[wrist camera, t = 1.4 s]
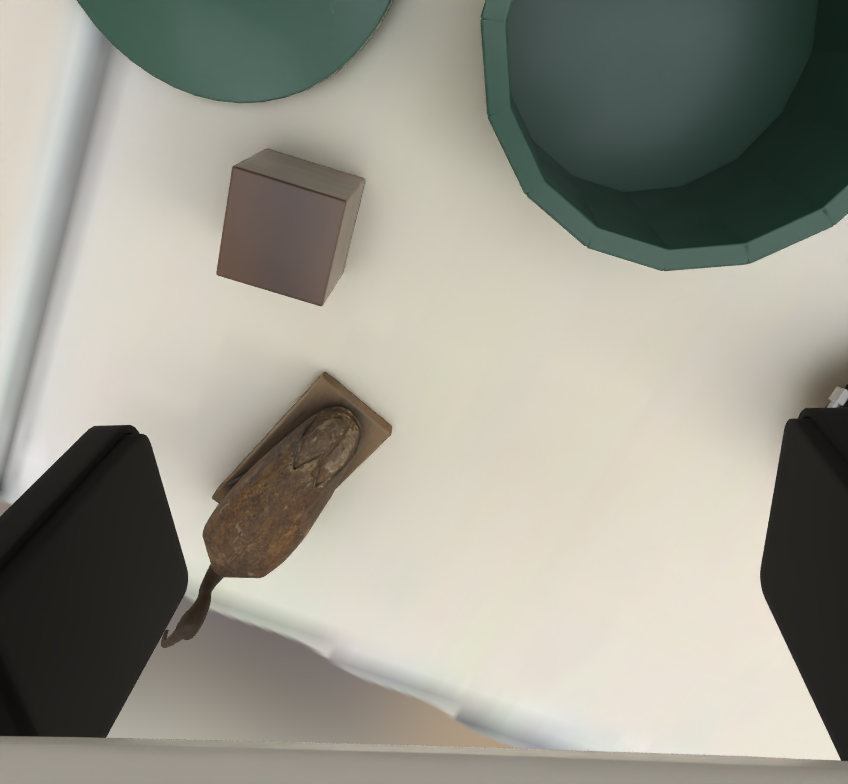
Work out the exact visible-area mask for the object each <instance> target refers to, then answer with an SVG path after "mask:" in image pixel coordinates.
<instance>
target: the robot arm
mask: <svg viewBox="0 0 848 784" xmlns="http://www.w3.org/2000/svg"><path fill="white" fill-rule="evenodd" d="M760 580H761V587H762V591H763V594H764V597H765V599H766V601H767V604H768V606H769V608H770V610H771V612H772V614H773V616H774V618H775V621H776V623H777V625H778V627H779V629H780V631H781V633H782V635H783V638H784V640H785V642H786V644H787V646H788V648H789V650H790V652H791V655H792V657H793V659H794V661H795V663H796V665H797V667H798V669H799V672H800V674H801V676H802V678H803V680H804V682H805V684H806V686H807V689H808V691H809V693H810V695H811V697H812V699H813V701H814V703H815V706H816V708H817V710H818V712H819V714H820V716H821V718H822V720H823V723H824V725H825V727H826V729H827V731H828V733H829V735H830V737H831V740H832V742H833V744H834V746H835V748H836V750H837V752H838V754H839V757H840V759H841V761H836V760H811V759H789V758H769V757H749V756H720V755H690V754H661V753H631V752H602V751H573V750H543V749H513V748H512V749H511V748H478V747H444V746H409V745H375V744H339V743H336V744H335V743H302V742H266V741H222V740H221V741H220V740H178V739H175V740H174V739H173V740H172V739H133V738H129V739H128V738H106V737H107V735H108V733H109V731H110V729H111V727H112V726H113V724H114V722H115V720H116V718H117V716H118V715H119V713H120V711H121V709H122V707H123V706H124V703H125V702H126V700H127V698H128V696H129V694H130V693H131V691H132V689H133V687H134V685H135V684H136V682H137V680H138V678H139V676H140V675H141V673H142V671H143V669H144V667H145V666H146V664H147V662H148V660H149V658H150V656H151V655H152V653H153V651H154V649H155V647H156V645H157V643H158V642H159V640H160V638H161V636H162V635H163V632H164V631H165V629H166V627H167V625H168V624H169V622H170V620H171V618H172V616H173V615H174V612H175V611H176V609H177V607H178V605H179V604H180V602H181V600H182V598H183V596H184V594H185V592H186V589H187V584H188V571H187V567H186V563H185V560H184V556H183V553H182V549H181V546H180V543H179V539H178V536H177V532H176V529H175V525H174V522H173V518H172V515H171V512H170V508H169V505H168V501H167V498H166V494H165V491H164V487H163V484H162V481H161V477H160V474H159V470H158V467H157V463H156V460H155V456H154V453H153V449H152V446H151V443H150V441H149V439H148V437H147V436H146V435H144V434H139V432H138V430H137V429H136V428H135V427H133V426H132V425H113V426H93V427H92V428H90V429H89V430H88V431H87V432H85V433H84V434H83V435H82V436H81V437H80V438H79V439H78V440H77V441H76V442H75V443H74V444H73V445H72V446H71V447H70V448H69V449H68V450H67V451H66V452H65V453H64V454H63V455H62V456H61V457H60V458H59V459H58V460H57V461H56V462H55V463H54V464H53V465H52V466H51V467H50V468H49V469H48V470H47V471H46V472H45V473H44V474H43V475H42V476H41V477H40V478H39V479H38V480H37V481H36V482H35V483H34V484H33V485H32V486H31V487H30V488H29V489H28V490H27V491H26V492H25V493H24V494H23V495H22V496H21V497H20V498H19V499H18V500H17V501H16V502H15V503H14V504H13V505H12V506H11V507H10V508H9V509H8V510H7V511H5V512H4V513H3V515H1V516H0V784H848V407H835V408H805V409H804V410H802V411H801V413H800V415H799V418H798V419H790V420H788V421H787V423H786V425H785V429H784V435H783V440H782V446H781V452H780V458H779V464H778V470H777V476H776V482H775V487H774V493H773V499H772V505H771V511H770V517H769V523H768V528H767V534H766V540H765V546H764V552H763V558H762V564H761V571H760Z"/></svg>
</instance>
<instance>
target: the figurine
mask: <svg viewBox="0 0 848 784" xmlns="http://www.w3.org/2000/svg"><path fill="white" fill-rule="evenodd" d="M391 431H392V427H391V426H390V425H389V424H388V423H387V422H386V421H385V420H383V419H382V418H381V417H380V416H378V415H377V414H376V413H375V412H374V411H372V410H371V409H370V408H369V407H368V406H366V405H365V404H364V403H363V402H361V401H360V400H359V399H358V398H357V397H356V396H354V395H353V394H352V393H351V392H350V391H348V390H347V389H346V388H344V387H343V386H342V385H341V384H340V383H338V382H337V381H336V380H335V379H333V378H332V377H331V376H330V375H328V374H327V373H326V372H324V373H323V374H322V375H321V376H320V377H319V379H318V380H317V381H316V382H315V383H314V384H313V385H312V386H311V387H310V388H309V389H308V391H307V392H306V393H305V394H304V395H303V396H302V397H301V398H300V399H299V401H298V402H297V403H296V404H295V405H294V406H293V407H292V408H291V409H290V410H289V411H288V413H287V414H286V415H285V416H284V417H283V418H282V419H281V420H280V421H279V422H278V423H277V425H276V426H275V427H274V428H273V429H272V430H271V431H270V432H269V433H268V434H267V435H266V436H265V438H264V439H263V440H262V441H261V442H260V443H259V444H258V445H257V446H256V447H255V449H254V450H253V451H252V452H251V453H250V454H249V455H248V456H247V457H246V458H245V459H244V460H243V462H242V463H241V464H240V465H239V466H238V467H237V468H236V469H235V471H234V472H233V473H232V474H231V475H230V476H229V477H228V478H227V479H226V480H225V481H224V482H223V483H222V484H221V486H220V487H219V488H218V489H217V490H216V491H215V493H214V495H213V496H212V499H213V500H215V501H216V502H218V503H219V505H218V506H217V507H216V509H215V510H214V512H213V513H212V515H211V516H210V518H209V520H208V521H207V523H206V525H205V527H204V530H203V539H204V542H205V546H206V549H207V553H208V556H209V559H210V562H211V565H210V566H209V568H208V570H207V572H206V575H205V577H204V579H203V581H202V583H201V586H200V589H199V595H198V598H197V599H196V601H195V603H194V604H193V606H192V607H191V608H190V609H189V610H188V611H187V612H186V613H185V614H184V615H183V616H182V618H181V620H180V622H179V623H178V624H177V627H176V629H175V631H174V632H173V633H172V634H171V635H170V636H169V637H168V638H167V634H168V630H165V632H164V634H163V637H162V640H161V646H162V647H163V648H166V647H169V646H172V645H174V644H175V643H177V642H179V641H180V640H182V639H184V640H189V639H191V638H193V636H195V634H196V633H197V632H198V630H199V629H200V627H201V625H202V624H203V622H204V620H205V618H206V615H207V612H208V609H209V606H210V602H211V592H212V590H213V589H214V587H215V586H216V585H217V584H218V583H219V582H220V581H221V580H222V579H223V577H238V578H262V577H264V576H266V575H267V574H269V573H270V572H271V571H273V570H274V569H275V568H277V567H278V566H279V565H280V564H282V563H283V562H284V561H285V560H286V559H287V558H288V557H289V556H290V555H291V553H292V552H293V551H294V550H295V549H296V548H297V546H298V545H299V544H300V543H301V542H302V540H303V539H304V538H305V536H306V535H307V534H308V532H309V530H310V529H311V527H312V526H313V524H314V522H315V521H316V519H317V518H318V516H319V515H320V513H321V512H322V510H323V508H324V507H325V505H326V504H327V502H328V501H329V499H330V497H331V496H332V494H333V492H334V490H335V489H336V488H337V487H338V486H339V485H340V484H341V483H342V482H343V481H344V480H345V479H346V478H347V477H348V476H349V475H350V474H351V473H352V472H353V471H354V470H355V469H356V468H357V467H358V466H359V465H360V464H361V463H363V462H364V461H365V460H366V459H367V458H368V457H369V456H370V455H371V454H372V453H373V452H374V451H375V450H376V449H377V448H378V447H379V446H380V445H381V444H382V443H383V442H384V441H385V440H386V439H387V438H388V437H389V436H390V435H391ZM166 638H167V639H166Z"/></svg>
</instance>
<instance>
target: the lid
mask: <svg viewBox="0 0 848 784" xmlns="http://www.w3.org/2000/svg"><path fill="white" fill-rule="evenodd" d="M77 1H78V3H79V4H80V5H81V7H82V8H83V9H84V11H85V12H86V14H87V15H88V16H89V18H90V19H91V20H92V22H93V23H94V24H95V25H96V27H97V28H98V29H99V30H100V31H101V32H102V33H103V34H104V35H105V36H106V38H107V39H108V40H109V41H110V42H111V43H112V44H113V45H114V46H115V47H116V48H117V49H119V50H120V51H121V52H122V53H123V54H124V55H125V56H127V57H128V58H129V59H130V60H131V61H132V62H134V63H135V64H136V65H138V66H139V67H141V68H142V69H144V70H145V71H146V72H148V73H149V74H151V75H152V76H154V77H156V78H158V79H160V80H161V81H163V82H165V83H167V84H169V85H171V86H173V87H175V88H177V89H180V90H182V91H185V92H188V93H190V94H193V95H195V96H199V97H204V98H208V99H212V100H216V101H224V102H234V103H253V102H265V101H270V100H275V99H281V98H285V97H288V96H291V95H293V94H296V93H299V92H302V91H305V90H307V89H309V88H311V87H313V86H315V85H317V84H319V83H321V82H322V81H324V80H326V79H328V78H329V77H331V76H332V75H333V74H335V73H336V72H337V71H339V70H340V69H341V68H343V67H344V66H345V65H346V64H347V63H348V62H349V61H351V60H352V59H353V58H354V57H355V56H356V55H357V54H358V53H359V52H360V51H361V50H362V49H363V47H364V46H365V45H366V43H367V42H368V41H369V40H370V38H371V37H372V36H373V34H374V33H375V32H376V31H377V29H378V28H379V26H380V24H381V22H382V21H383V19H384V17H385V16H386V14H387V12H388V10H389V9H390V7H391V5H392V2H393V0H77Z"/></svg>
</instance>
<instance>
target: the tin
mask: <svg viewBox="0 0 848 784" xmlns="http://www.w3.org/2000/svg"><path fill="white" fill-rule="evenodd" d="M481 18H482V19H481V35H482V49H483V63H484V77H485V91H486V105H487V114H488V119H489V121H490V123H491V125H492V127H493V129H494V131H495V133H496V135H497V138H498V140H499V142H500V144H501V146H502V148H503V150H504V152H505V154H506V156H507V158H508V160H509V162H510V164H511V167H512V169H513V171H514V173H515V175H516V177H517V179H518V181H519V183H520V185H521V187H522V189H523V191H524V193H525V194H526V195H527V197H528V198H530V199H531V200H532V201H533V202H534V203H535V204H537V205H538V206H539V207H540V208H541V209H542V210H544V211H545V212H546V213H547V214H548V215H549V216H551V217H552V218H553V219H554V220H555V221H556V222H557V223H559V224H560V225H561V226H562V227H563V228H564V229H566V230H567V231H568V232H569V233H570V234H571V235H573V236H574V237H575V238H576V239H577V240H578V241H580V242H581V243H582V244H583V245H584V246H587V248H589V249H593V250H596V251H599V252H602V253H606V254H609V255H612V256H615V257H619V258H622V259H625V260H628V261H632V262H635V263H638V264H641V265H644V266H648V267H651V268H654V269H657V270H661V271H663V270H664V271H672V270H684V269H696V268H708V267H721V266H733V265H745V264H748V263H749V264H750V263H752V262H755V261H757V260H759V259H761V258H763V257H766V256H768V255H770V254H772V253H775V252H777V251H779V250H781V249H784V248H786V247H788V246H790V245H792V244H795V243H797V242H799V241H801V240H804V239H806V238H808V237H810V236H813V235H815V234H817V233H819V232H821V231H824V230H826V229H828V228H830V227H832V226H833V225H835V224H837V223H838V222H839V221H840V220H841V219H842V218H843V217H844V216H846V215H847V214H848V0H485V4H484V7H483V11H482V14H481Z"/></svg>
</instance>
